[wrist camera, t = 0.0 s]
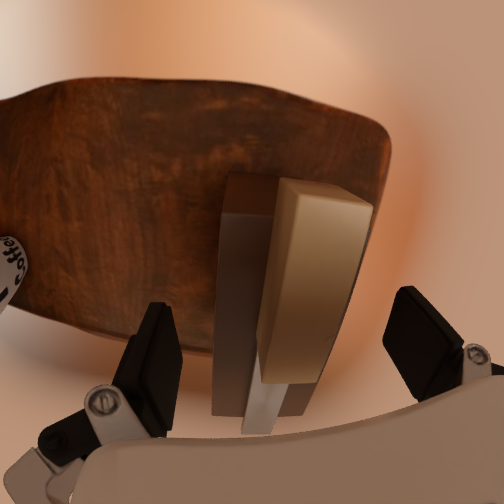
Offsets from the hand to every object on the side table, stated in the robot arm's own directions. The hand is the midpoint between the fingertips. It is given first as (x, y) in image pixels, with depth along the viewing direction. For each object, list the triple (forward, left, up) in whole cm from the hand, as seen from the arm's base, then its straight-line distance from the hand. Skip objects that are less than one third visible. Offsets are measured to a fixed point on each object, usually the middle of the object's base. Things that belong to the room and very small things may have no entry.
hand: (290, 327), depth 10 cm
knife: (+2, -2, -1) cm, 3 cm away
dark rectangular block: (+2, -2, -13) cm, 14 cm away
